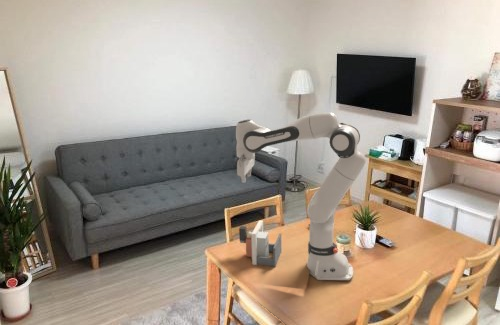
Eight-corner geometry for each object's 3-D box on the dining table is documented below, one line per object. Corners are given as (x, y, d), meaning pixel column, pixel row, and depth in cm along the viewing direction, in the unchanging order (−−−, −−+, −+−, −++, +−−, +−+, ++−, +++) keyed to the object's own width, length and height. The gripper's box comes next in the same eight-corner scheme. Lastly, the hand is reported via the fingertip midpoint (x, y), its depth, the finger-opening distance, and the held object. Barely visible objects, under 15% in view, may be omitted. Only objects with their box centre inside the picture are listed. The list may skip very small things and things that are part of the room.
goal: (281, 251, 201) (281, 222, 197) (275, 267, 186) (275, 235, 182) (260, 249, 204) (259, 220, 200) (252, 264, 189) (251, 233, 185)
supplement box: (265, 261, 191) (265, 238, 188) (251, 260, 193) (250, 237, 190) (269, 254, 198) (268, 232, 195) (255, 252, 200) (254, 230, 197)
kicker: (254, 252, 199) (254, 226, 195) (252, 256, 194) (251, 230, 190) (242, 250, 201) (241, 225, 197) (239, 255, 196) (238, 229, 192)
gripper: (246, 158, 179) (247, 186, 183) (256, 148, 198) (257, 173, 202) (233, 157, 180) (234, 185, 184) (244, 147, 199) (245, 173, 203)
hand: (246, 179), depth 193 cm, fingers open, 8 cm apart
